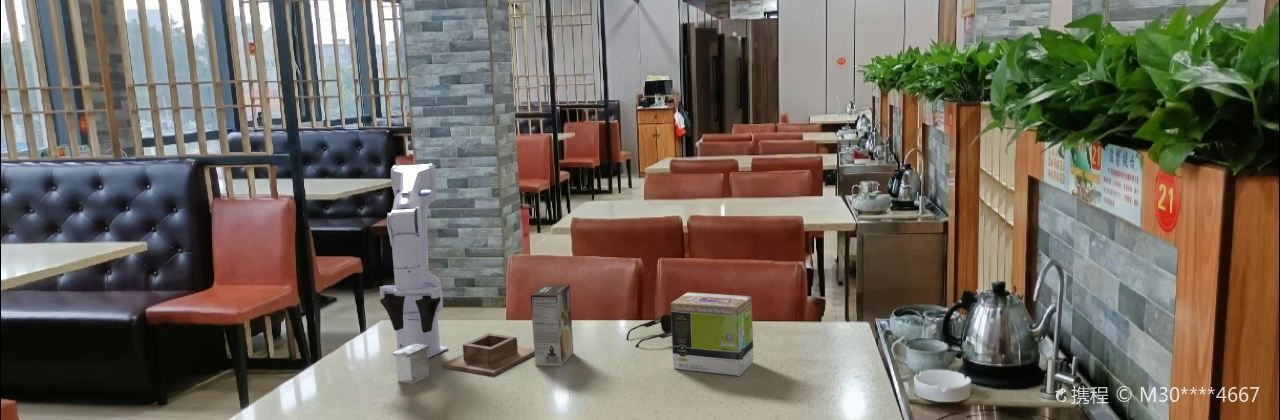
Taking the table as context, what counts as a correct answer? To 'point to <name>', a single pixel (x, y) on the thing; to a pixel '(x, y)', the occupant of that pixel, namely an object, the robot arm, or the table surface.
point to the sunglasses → (665, 326)
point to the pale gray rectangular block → (412, 363)
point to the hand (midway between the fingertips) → (412, 330)
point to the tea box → (712, 333)
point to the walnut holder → (490, 355)
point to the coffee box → (552, 325)
